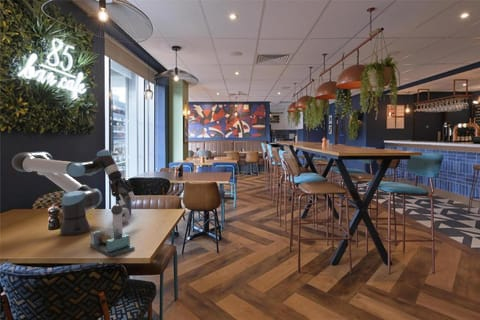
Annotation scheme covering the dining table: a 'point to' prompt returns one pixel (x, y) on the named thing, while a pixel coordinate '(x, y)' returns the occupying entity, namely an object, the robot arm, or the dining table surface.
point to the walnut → (106, 238)
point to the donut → (125, 215)
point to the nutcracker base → (102, 247)
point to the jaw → (117, 231)
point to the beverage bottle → (125, 198)
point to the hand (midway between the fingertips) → (129, 202)
